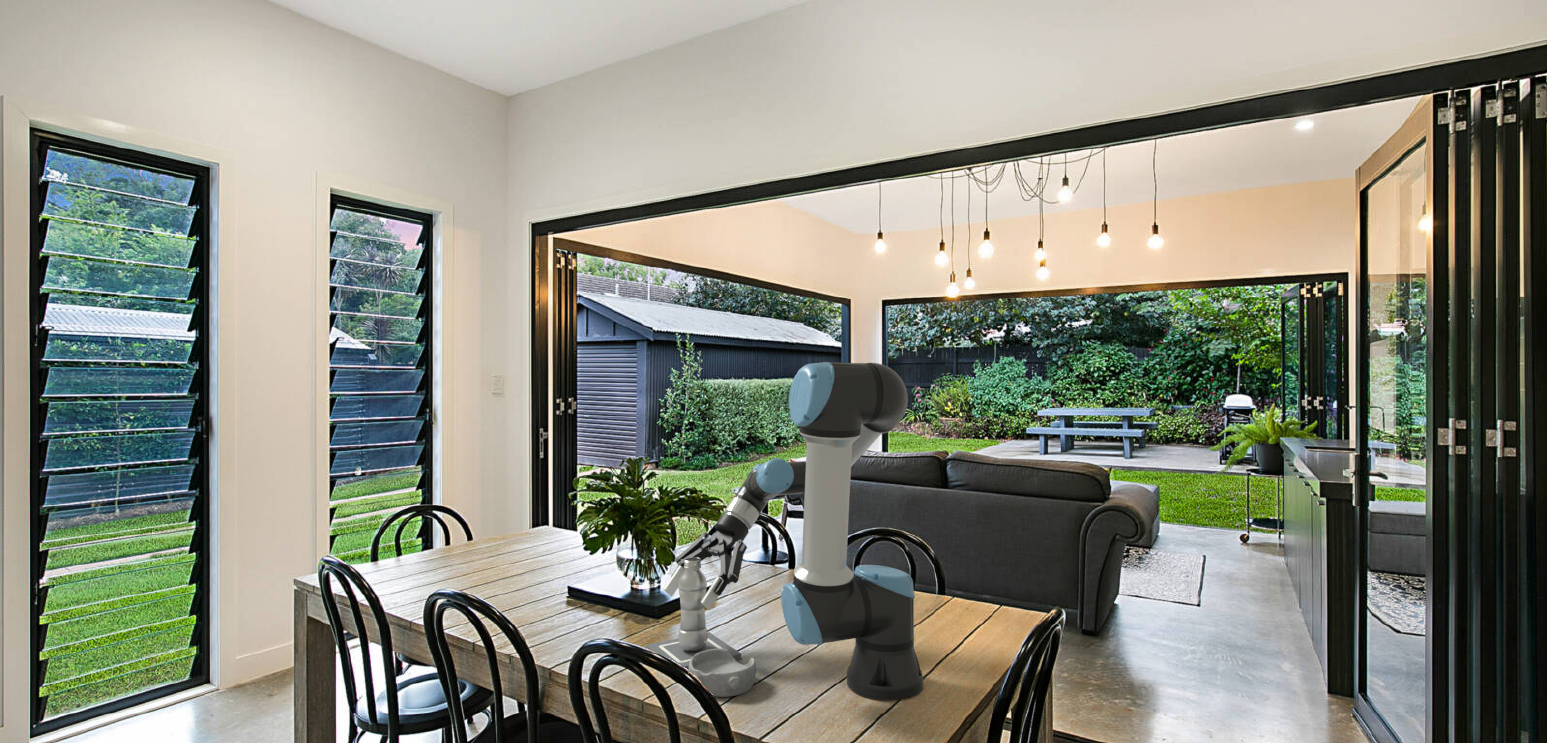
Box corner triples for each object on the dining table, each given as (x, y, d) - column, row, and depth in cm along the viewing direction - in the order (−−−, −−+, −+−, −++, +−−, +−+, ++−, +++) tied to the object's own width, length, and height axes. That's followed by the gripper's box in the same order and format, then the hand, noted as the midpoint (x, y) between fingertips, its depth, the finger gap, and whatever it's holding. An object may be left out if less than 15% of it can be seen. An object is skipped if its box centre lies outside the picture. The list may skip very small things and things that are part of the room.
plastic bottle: (713, 647, 165) (713, 558, 165) (694, 657, 159) (694, 564, 159) (691, 642, 168) (690, 554, 168) (672, 651, 162) (671, 560, 163)
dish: (707, 667, 157) (707, 644, 157) (767, 677, 151) (766, 653, 152) (672, 694, 143) (672, 669, 143) (736, 706, 138) (736, 680, 138)
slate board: (741, 659, 161) (741, 653, 161) (673, 674, 153) (673, 668, 153) (709, 637, 175) (709, 632, 175) (645, 650, 166) (645, 644, 166)
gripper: (781, 539, 166) (732, 621, 155) (711, 524, 184) (662, 597, 173) (764, 519, 162) (712, 602, 152) (694, 505, 180) (643, 579, 169)
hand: (685, 599), depth 162 cm, fingers open, 13 cm apart
